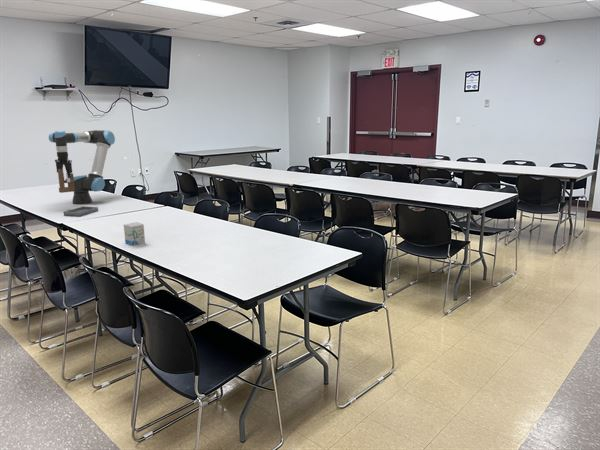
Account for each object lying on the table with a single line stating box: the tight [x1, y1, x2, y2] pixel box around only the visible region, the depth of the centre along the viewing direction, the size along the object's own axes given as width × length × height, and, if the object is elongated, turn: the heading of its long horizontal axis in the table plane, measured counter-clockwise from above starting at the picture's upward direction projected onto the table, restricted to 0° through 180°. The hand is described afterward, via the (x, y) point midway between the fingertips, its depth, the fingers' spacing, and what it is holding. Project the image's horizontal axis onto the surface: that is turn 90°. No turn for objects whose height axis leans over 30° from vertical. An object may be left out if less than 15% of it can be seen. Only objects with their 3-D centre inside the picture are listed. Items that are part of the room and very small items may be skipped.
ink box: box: [123, 221, 146, 246], centre depth 272 cm, size 8×8×12 cm
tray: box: [63, 206, 99, 218], centre depth 352 cm, size 21×14×3 cm, turn 167°
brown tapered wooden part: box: [57, 168, 75, 194], centre depth 356 cm, size 4×11×18 cm, turn 143°
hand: (65, 181), depth 356 cm, fingers closed on brown tapered wooden part, 5 cm apart
